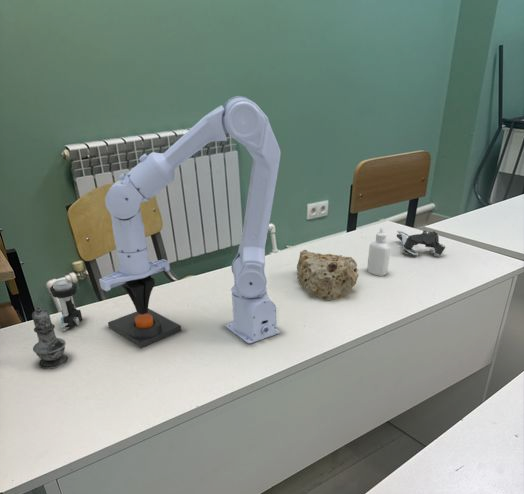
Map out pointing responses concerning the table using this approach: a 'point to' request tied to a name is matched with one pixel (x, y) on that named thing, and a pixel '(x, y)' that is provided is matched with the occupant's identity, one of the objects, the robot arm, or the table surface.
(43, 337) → the grey tiered figurine
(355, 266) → the rock
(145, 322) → the round orange button cap
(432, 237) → the bicycle component
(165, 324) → the orange button switch
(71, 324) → the white black upright piece
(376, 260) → the eye dropper bottle
